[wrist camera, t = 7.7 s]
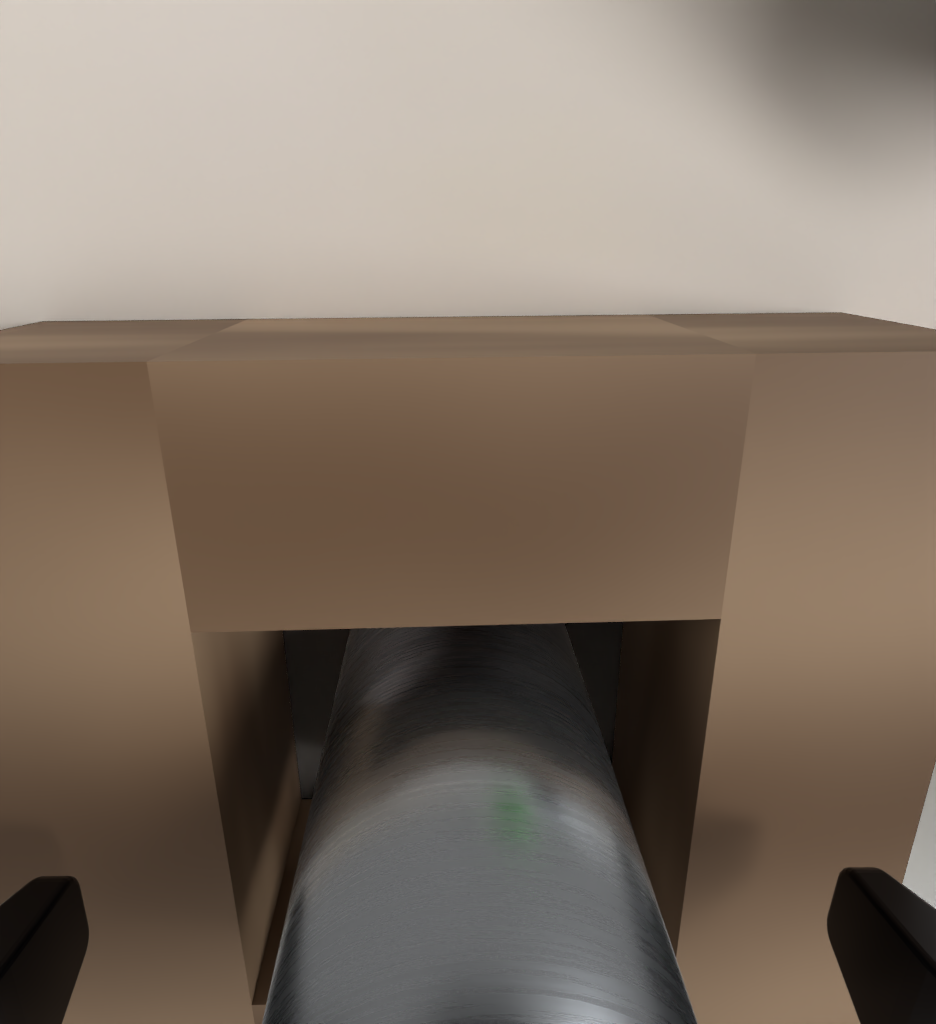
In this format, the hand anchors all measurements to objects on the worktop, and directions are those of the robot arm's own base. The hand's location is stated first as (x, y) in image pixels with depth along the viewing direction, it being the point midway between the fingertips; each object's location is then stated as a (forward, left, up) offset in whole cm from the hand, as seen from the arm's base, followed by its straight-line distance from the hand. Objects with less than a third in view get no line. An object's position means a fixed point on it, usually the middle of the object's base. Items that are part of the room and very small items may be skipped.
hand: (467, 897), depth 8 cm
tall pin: (0, 0, -5) cm, 5 cm away
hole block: (0, 0, -5) cm, 5 cm away
